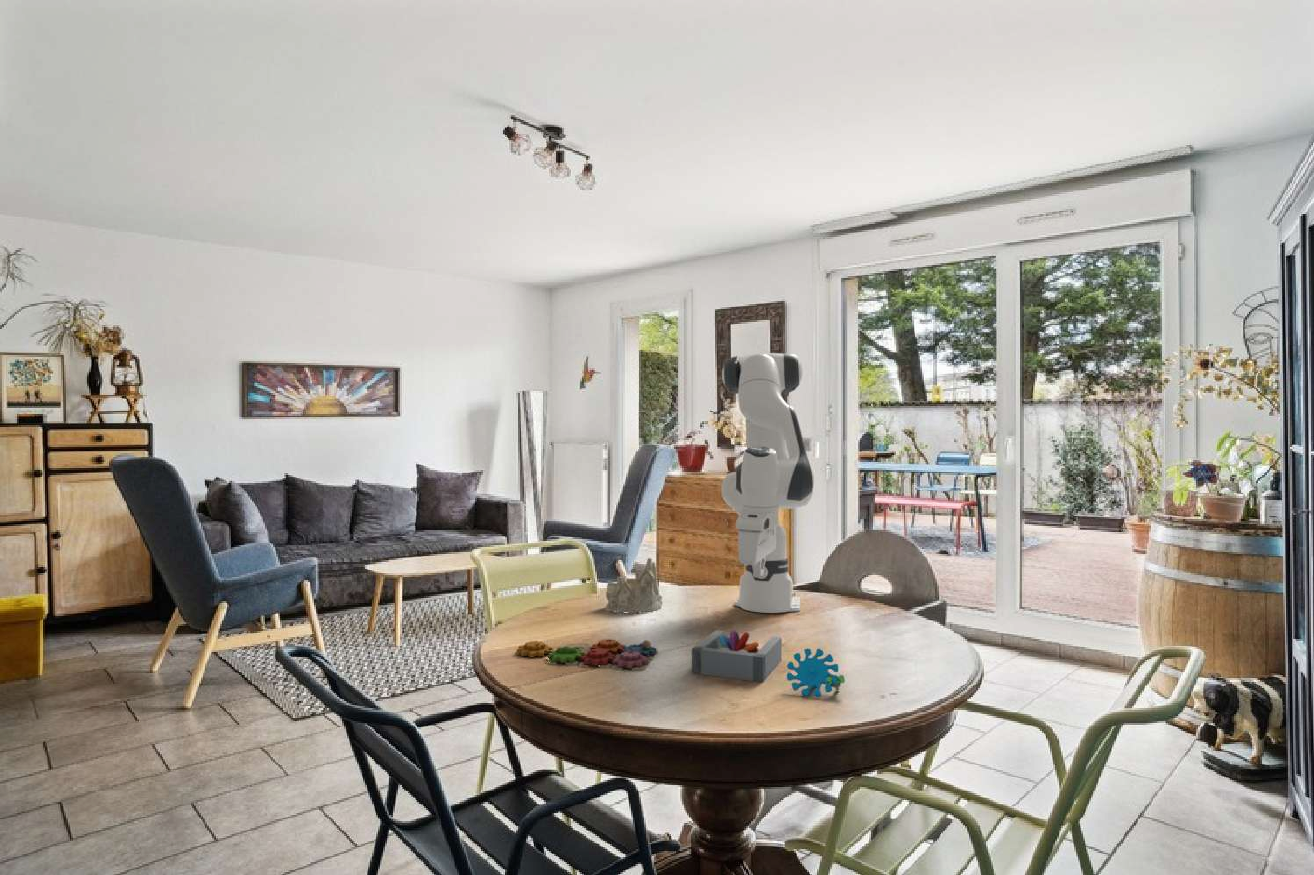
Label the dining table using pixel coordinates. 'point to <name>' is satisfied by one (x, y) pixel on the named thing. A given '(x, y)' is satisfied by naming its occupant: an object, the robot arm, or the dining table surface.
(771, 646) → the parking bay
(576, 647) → the gear puzzle
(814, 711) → the dining table surface
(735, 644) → the multicoloured rounded-lobe toy
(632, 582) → the ceramic cottage
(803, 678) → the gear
